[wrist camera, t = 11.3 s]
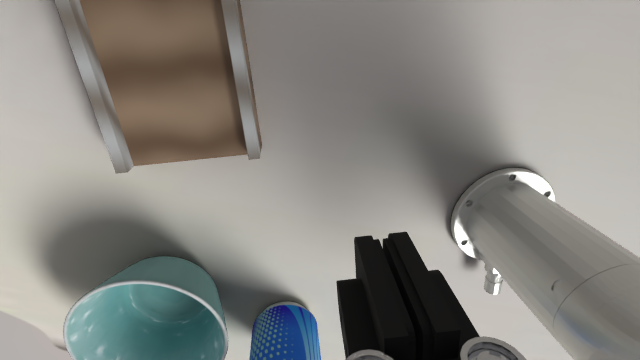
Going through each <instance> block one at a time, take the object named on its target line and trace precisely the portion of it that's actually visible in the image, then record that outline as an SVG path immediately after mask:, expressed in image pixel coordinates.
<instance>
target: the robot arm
mask: <svg viewBox="0 0 640 360" xmlns="http://www.w3.org/2000/svg"><path fill="white" fill-rule="evenodd" d="M451 232H452V236H453V238H454V240H455V242H456V244H457V245H458V246H459V247H460V249H461V250H462V251H463V252H464V253H466V254H467V255H469V256H471V257H472V258H475V259H479V260H482V261H483V262H484V263H485V270H486V271H487V275H486V277H485V283H484V289H485V291H486V292H488V293H489V294H493V295H497V294H499V293H500V291H501V286H502V281H503V280H502V278H503V279H504V280H505V281H506V283H507V284H508V285H509V286H510V287H511V288H512V289H513V291H514V292H515V293H516V294H517V295H518V296H519V298H520V299H521V300H522V301H523V302H524V303H525V304H526V306H527V307H528V308H529V309H530V310H531V311H532V313H533V314H534V315H535V316H536V317H537V318H538V320H539V321H540V322H541V323H542V324H543V325H544V326H545V328H546V329H547V330H548V331H549V332H550V333H551V335H552V336H553V337H554V338H555V339H556V340H557V341H558V342H559V344H560V345H561V346H562V347H563V348H564V349H565V350H566V352H567V353H568V354H569V355H570V356H571V357H572V358H573V359H574V360H640V258H639V257H638V256H636V255H635V254H633V253H632V252H630V251H629V250H627V249H625V248H624V247H622V246H621V245H619V244H618V243H616V242H615V241H613V240H612V239H610V238H609V237H607V236H606V235H604V234H603V233H601V232H600V231H598V230H597V229H595V228H593V227H592V226H590V225H589V224H587V223H586V222H584V221H583V220H581V219H580V218H578V217H577V216H575V215H574V214H572V213H571V212H569V211H568V210H566V209H564V208H563V207H561V206H560V205H558V204H557V203H555V195H554V192H553V189H552V187H551V186H550V184H549V183H548V182H547V181H546V180H545V179H544V178H543V177H542V176H540V175H538V174H536V173H535V172H533V171H530V170H527V169H522V168H506V169H502V170H498V171H495V172H492V173H490V174H487V175H485V176H484V177H482V178H480V179H479V180H477V181H476V182H475V183H474V184H472V185H471V186H470V187H469V188H468V189H467V190H466V191H465V192H464V193H463V194H462V196H461V197H460V199H459V200H458V202H457V203H456V206H455V208H454V210H453V213H452V218H451ZM354 244H355V263H356V279H349V280H340V281H337V294H338V305H339V314H340V322H341V329H342V336H343V343H344V349H345V356H346V359H345V360H526V359H525V357H524V356H523V355H522V354H521V353H520V352H518V351H517V350H516V349H515V348H514V347H512V346H511V345H509V344H507V343H506V342H504V341H501V340H498V339H496V338H491V337H480V336H479V335H478V333H477V331H476V330H475V328H474V326H473V325H472V323H471V321H470V320H469V318H468V316H467V315H466V313H465V311H464V310H463V308H462V306H461V305H460V303H459V301H458V300H457V298H456V296H455V295H454V293H453V291H452V290H451V288H450V286H449V285H448V283H447V281H446V280H445V278H444V276H443V275H442V273H441V272H440V271H439V270H432V271H428V270H427V268H426V266H425V264H424V262H423V261H422V259H421V257H420V255H419V253H418V251H417V250H416V248H415V246H414V244H413V242H412V241H411V239H410V237H409V235H408V233H407V232H400V233H390V234H389V235H388V238H386V239H383V249H382V246H381V244H380V241H379V239H376V240H373V237H372V236H362V237H355V238H354Z"/></svg>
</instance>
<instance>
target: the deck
mask: <svg viewBox="0 0 640 360" xmlns="http://www.w3.org/2000/svg"><path fill="white" fill-rule="evenodd" d="M54 1H55V4H56V7H57V9H58V12H59V15H60V18H61V21H62V23H63V26H64V29H65V32H66V35H67V37H68V40H69V43H70V46H71V49H72V51H73V54H74V57H75V60H76V63H77V65H78V68H79V71H80V74H81V77H82V79H83V82H84V85H85V88H86V91H87V93H88V96H89V99H90V102H91V105H92V107H93V110H94V113H95V116H96V119H97V121H98V124H99V127H100V130H101V133H102V135H103V138H104V141H105V144H106V147H107V149H108V152H109V155H110V158H111V161H112V163H113V166H114V169H115V172H116V173H125V172H128V171H129V170H130V169H131V168H132V167H133V166H139V165H149V164H159V163H168V162H178V161H188V160H197V159H207V158H217V157H226V156H236V155H246V154H248V158H249V160H250V159H259V158H260V153H261V147H262V142H261V136H260V129H259V123H258V116H257V110H256V103H255V97H254V90H253V84H252V77H251V71H250V64H249V57H248V51H247V44H246V38H245V31H244V25H243V18H242V12H241V5H240V0H54Z"/></svg>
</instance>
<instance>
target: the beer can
mask: <svg viewBox="0 0 640 360" xmlns="http://www.w3.org/2000/svg"><path fill="white" fill-rule="evenodd" d="M250 360H321V355H320V346H319V338H318V329H317V322H316V319H315V317H314V316H313V314H312V313H311V312H310V311H308V310H307V309H306V308H305V307H303V306H302V305H300V304H298V303H295V302H288V301H285V302H278V303H275V304H272V305H270V306H269V307H267V308H266V309H265V310H264V311H263V312H262V313H261V314H260V315H259V316H258V317H257V318H256V320H255V322H254V324H253V330H252V340H251V351H250Z"/></svg>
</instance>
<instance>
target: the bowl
mask: <svg viewBox="0 0 640 360" xmlns="http://www.w3.org/2000/svg"><path fill="white" fill-rule="evenodd" d="M63 335H64V342H65V345H66V348H67V350H68V353H69V354H70V356H71V357H72V359H73V360H224V359H225V356H226V354H227V350H228V333H227V328H226V324H225V319H224V314H223V310H222V306H221V302H220V298H219V295H218V291H217V288H216V285H215V283H214V281H213V280H212V278H211V277H210V276H209V275H208V273H206V272H205V271H204V270H203V269H202V268H201V267H199V266H198V265H196V264H194V263H192V262H190V261H187V260H184V259H181V258H177V257H169V256H159V257H152V258H147V259H144V260H141V261H139V262H137V263H135V264H133V265H131V266H130V267H128V268H126V269H125V270H123V271H121V272H120V273H118V274H116V275H115V276H113V277H111V278H110V279H108V280H107V281H105V282H104V283H102V284H100V285H99V286H97V287H96V288H94V289H93V290H91V291H90V292H88V293H87V294H85V295H84V296H83V297H81V298H80V299H79V300H78V301H77V302H76V303H75V304H74V305H73V307H72V308H71V309H70V311H69V313H68V314H67V316H66V319H65V322H64V328H63Z"/></svg>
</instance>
